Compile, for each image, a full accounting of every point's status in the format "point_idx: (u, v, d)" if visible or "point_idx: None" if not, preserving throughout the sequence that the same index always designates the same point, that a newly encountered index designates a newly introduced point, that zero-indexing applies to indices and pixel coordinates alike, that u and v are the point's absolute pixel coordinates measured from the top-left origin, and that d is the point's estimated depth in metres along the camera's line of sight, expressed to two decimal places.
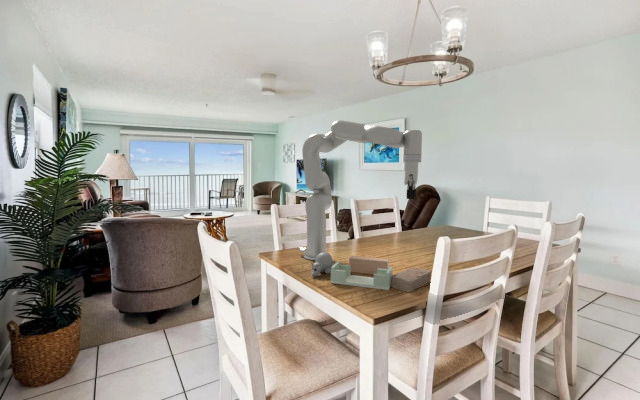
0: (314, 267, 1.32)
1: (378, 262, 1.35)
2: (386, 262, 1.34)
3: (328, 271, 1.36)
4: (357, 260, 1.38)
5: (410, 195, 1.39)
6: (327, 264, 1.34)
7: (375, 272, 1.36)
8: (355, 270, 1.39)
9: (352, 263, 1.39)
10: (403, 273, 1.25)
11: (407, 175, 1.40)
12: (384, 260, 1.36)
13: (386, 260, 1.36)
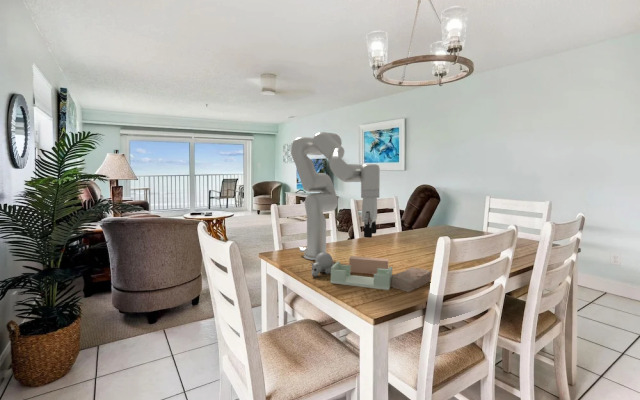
0: (314, 267, 1.32)
1: (379, 261, 1.36)
2: (387, 262, 1.35)
3: (328, 271, 1.36)
4: (357, 260, 1.38)
5: (367, 233, 1.32)
6: (327, 264, 1.34)
7: (375, 272, 1.36)
8: (355, 270, 1.38)
9: (352, 264, 1.38)
10: (403, 273, 1.25)
11: (364, 212, 1.32)
12: (384, 260, 1.36)
13: (386, 260, 1.36)
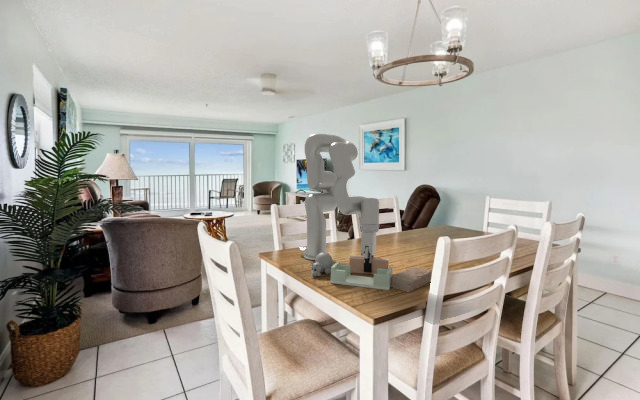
0: (314, 267, 1.32)
1: (379, 261, 1.36)
2: (387, 261, 1.35)
3: (328, 271, 1.36)
4: (357, 260, 1.37)
5: (367, 269, 1.35)
6: (327, 264, 1.34)
7: (376, 271, 1.36)
8: (355, 270, 1.38)
9: (353, 263, 1.38)
10: (403, 273, 1.25)
11: (363, 246, 1.34)
12: (384, 259, 1.37)
13: (386, 259, 1.37)
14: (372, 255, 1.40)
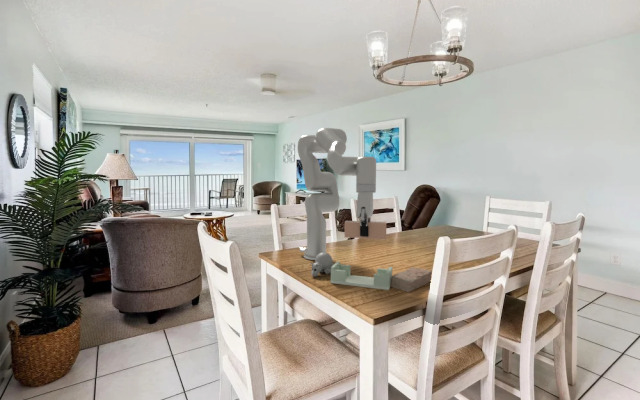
0: (314, 267, 1.32)
1: (377, 224, 1.26)
2: (385, 224, 1.26)
3: (328, 271, 1.36)
4: (353, 224, 1.28)
5: (363, 232, 1.26)
6: (327, 264, 1.34)
7: (373, 235, 1.27)
8: (351, 235, 1.28)
9: (348, 227, 1.28)
10: (403, 273, 1.25)
11: (359, 208, 1.24)
12: (382, 222, 1.27)
13: (384, 222, 1.27)
14: (369, 219, 1.31)
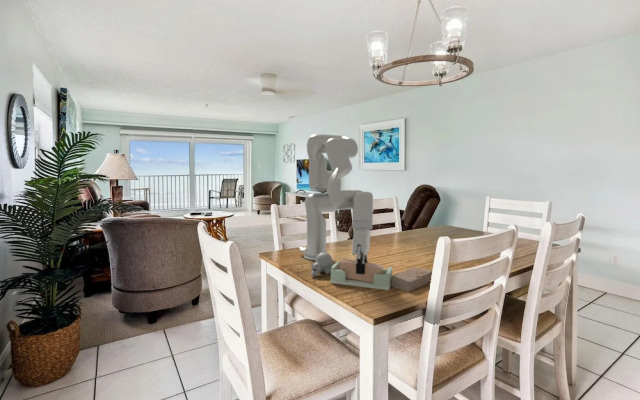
0: (314, 267, 1.32)
1: (372, 268, 1.22)
2: (380, 269, 1.21)
3: (328, 271, 1.35)
4: (348, 264, 1.25)
5: (359, 270, 1.22)
6: (327, 264, 1.34)
7: (367, 279, 1.23)
8: (346, 275, 1.26)
9: (343, 267, 1.26)
10: (403, 273, 1.25)
11: (355, 245, 1.20)
12: (378, 266, 1.22)
13: (380, 266, 1.22)
14: (365, 255, 1.27)
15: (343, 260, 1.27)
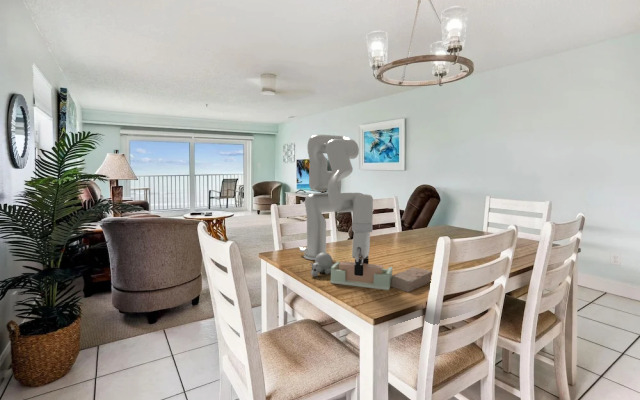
0: (314, 267, 1.32)
1: (371, 268, 1.22)
2: (380, 269, 1.21)
3: (328, 271, 1.35)
4: (348, 266, 1.25)
5: (358, 271, 1.20)
6: (327, 264, 1.34)
7: (367, 280, 1.23)
8: (346, 277, 1.26)
9: None
10: (403, 273, 1.25)
11: (355, 248, 1.20)
12: (377, 266, 1.23)
13: (380, 266, 1.23)
14: None
15: (342, 263, 1.27)
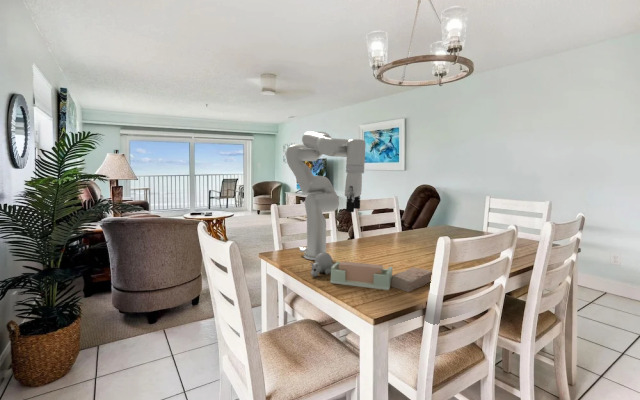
0: (314, 267, 1.32)
1: (371, 268, 1.22)
2: (380, 269, 1.21)
3: (328, 271, 1.35)
4: (348, 266, 1.25)
5: (349, 208, 1.33)
6: (327, 264, 1.34)
7: (367, 280, 1.23)
8: (346, 277, 1.26)
9: None
10: (404, 273, 1.25)
11: (347, 187, 1.33)
12: (377, 266, 1.23)
13: (380, 266, 1.23)
14: (358, 195, 1.42)
15: (342, 263, 1.27)
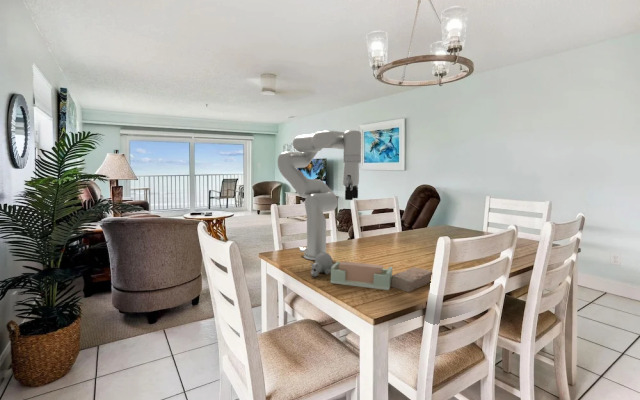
0: (314, 267, 1.32)
1: (371, 268, 1.22)
2: (380, 269, 1.21)
3: (328, 271, 1.35)
4: (348, 266, 1.25)
5: (348, 196, 1.39)
6: (327, 264, 1.34)
7: (367, 280, 1.23)
8: (346, 277, 1.26)
9: None
10: (404, 273, 1.25)
11: (345, 176, 1.39)
12: (377, 266, 1.23)
13: (380, 266, 1.23)
14: (356, 185, 1.48)
15: (342, 263, 1.27)
